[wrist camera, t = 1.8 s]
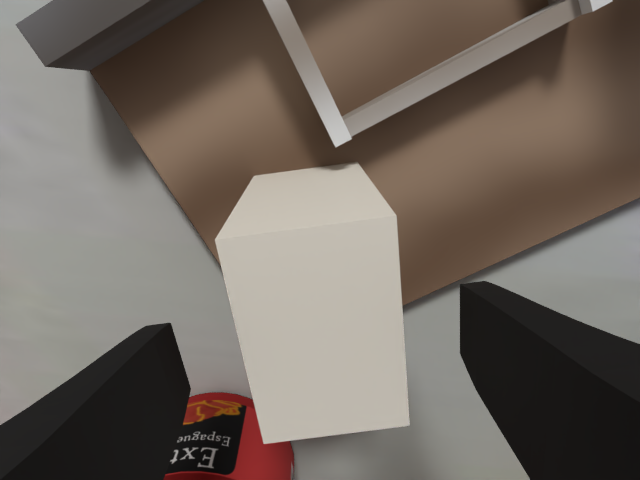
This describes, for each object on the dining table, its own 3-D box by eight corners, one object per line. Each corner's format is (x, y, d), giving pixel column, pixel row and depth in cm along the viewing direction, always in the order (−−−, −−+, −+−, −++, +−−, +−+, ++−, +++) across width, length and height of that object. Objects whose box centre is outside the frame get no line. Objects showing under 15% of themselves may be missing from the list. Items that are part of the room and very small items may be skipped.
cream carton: (357, 161, 15) (396, 215, 9) (370, 298, 17) (409, 425, 11) (251, 176, 15) (209, 240, 9) (277, 310, 17) (259, 444, 11)
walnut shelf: (859, 81, 16) (1004, 79, 12) (285, 346, 19) (280, 399, 16) (851, -450, 11) (1091, -688, 7) (79, 36, 14) (12, 20, 11)
